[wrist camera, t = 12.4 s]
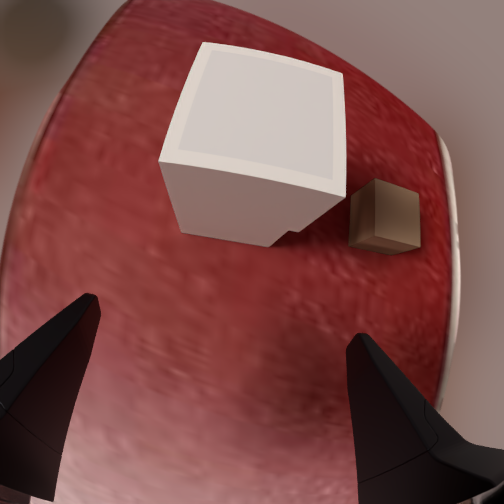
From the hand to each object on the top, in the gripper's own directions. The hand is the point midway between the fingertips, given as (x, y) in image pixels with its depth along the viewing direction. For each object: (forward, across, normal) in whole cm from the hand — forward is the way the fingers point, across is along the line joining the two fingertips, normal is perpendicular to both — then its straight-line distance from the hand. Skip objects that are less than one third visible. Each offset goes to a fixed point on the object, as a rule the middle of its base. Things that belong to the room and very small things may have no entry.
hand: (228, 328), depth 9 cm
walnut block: (+11, -10, 0) cm, 15 cm away
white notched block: (+11, 0, 0) cm, 11 cm away
